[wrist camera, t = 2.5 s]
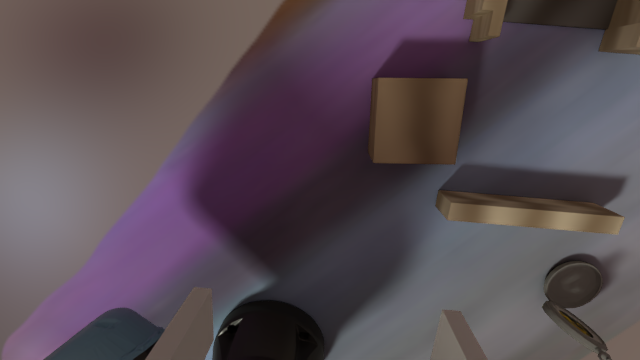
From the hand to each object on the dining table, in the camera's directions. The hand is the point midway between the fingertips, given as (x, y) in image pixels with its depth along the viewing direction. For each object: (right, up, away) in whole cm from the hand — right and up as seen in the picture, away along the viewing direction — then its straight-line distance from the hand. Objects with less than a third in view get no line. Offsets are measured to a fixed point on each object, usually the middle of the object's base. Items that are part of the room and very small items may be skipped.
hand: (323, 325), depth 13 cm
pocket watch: (+31, -7, +26) cm, 41 cm away
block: (+9, +13, +21) cm, 26 cm away
